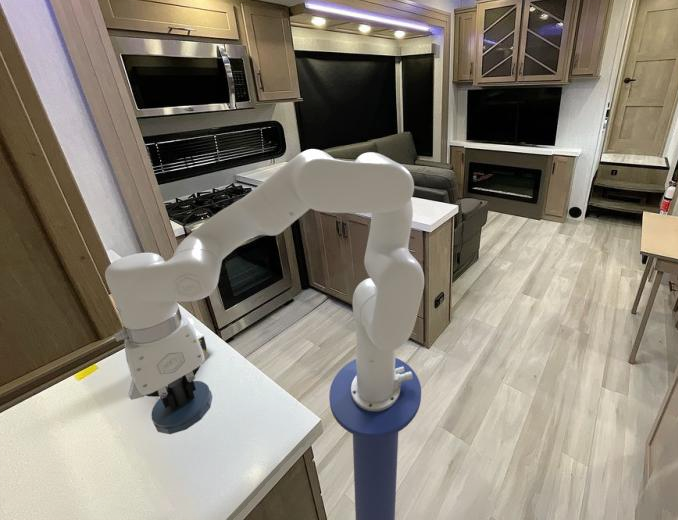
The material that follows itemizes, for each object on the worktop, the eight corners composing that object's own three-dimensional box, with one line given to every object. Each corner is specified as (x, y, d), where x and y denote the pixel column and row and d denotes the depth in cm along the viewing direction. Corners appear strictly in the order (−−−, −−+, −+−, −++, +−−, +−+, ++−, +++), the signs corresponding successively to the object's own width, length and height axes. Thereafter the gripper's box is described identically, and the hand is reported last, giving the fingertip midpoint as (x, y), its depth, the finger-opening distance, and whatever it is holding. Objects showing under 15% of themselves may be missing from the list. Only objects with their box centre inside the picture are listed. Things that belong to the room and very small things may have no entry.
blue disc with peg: (215, 383, 67) (208, 357, 65) (207, 423, 59) (198, 395, 56) (163, 396, 64) (153, 369, 62) (147, 441, 56) (134, 412, 53)
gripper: (97, 363, 46) (134, 446, 53) (214, 309, 57) (232, 383, 64) (87, 339, 50) (123, 419, 57) (197, 293, 62) (216, 364, 69)
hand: (181, 399), depth 61 cm, fingers closed on blue disc with peg, 2 cm apart
